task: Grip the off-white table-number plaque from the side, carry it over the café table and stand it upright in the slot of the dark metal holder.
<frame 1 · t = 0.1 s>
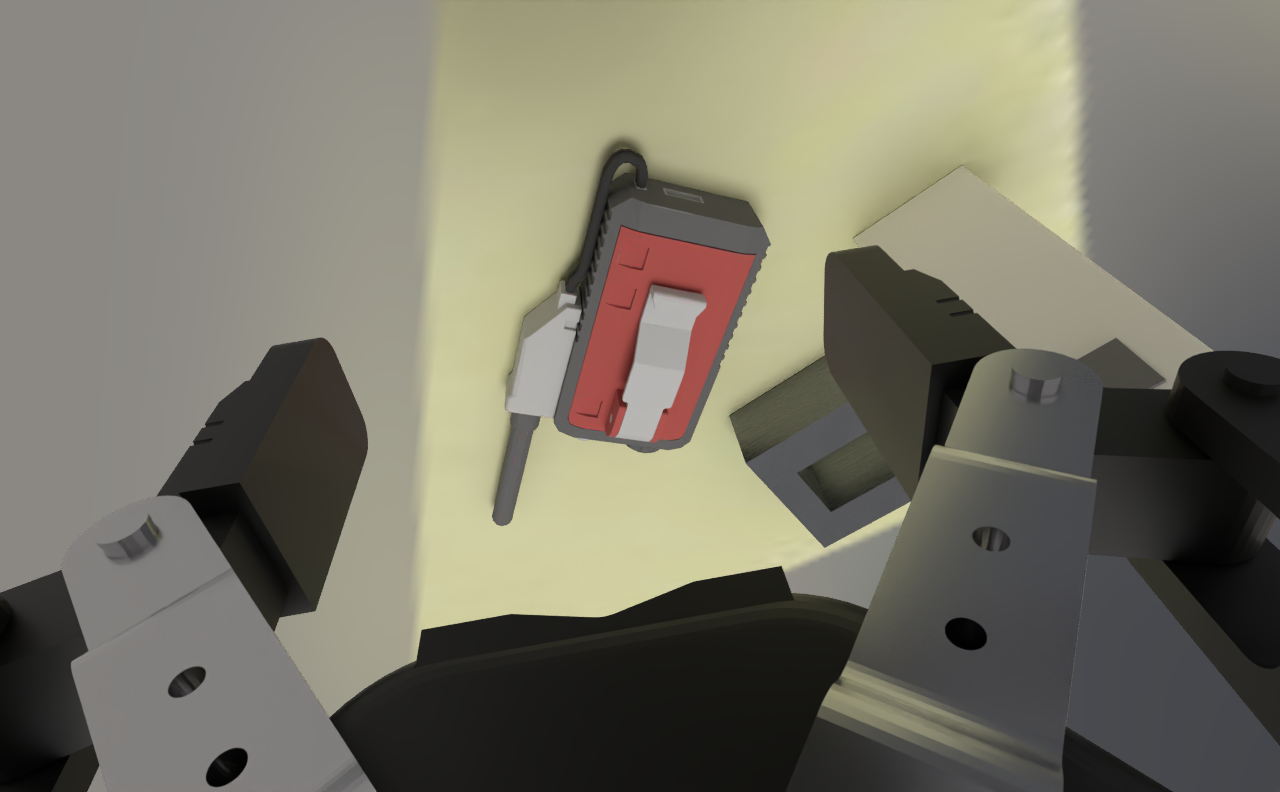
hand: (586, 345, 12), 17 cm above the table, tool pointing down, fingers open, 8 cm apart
plaque: (915, 220, 30), on the table
holder: (852, 410, 36), on the table
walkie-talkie: (607, 357, 34), on the table
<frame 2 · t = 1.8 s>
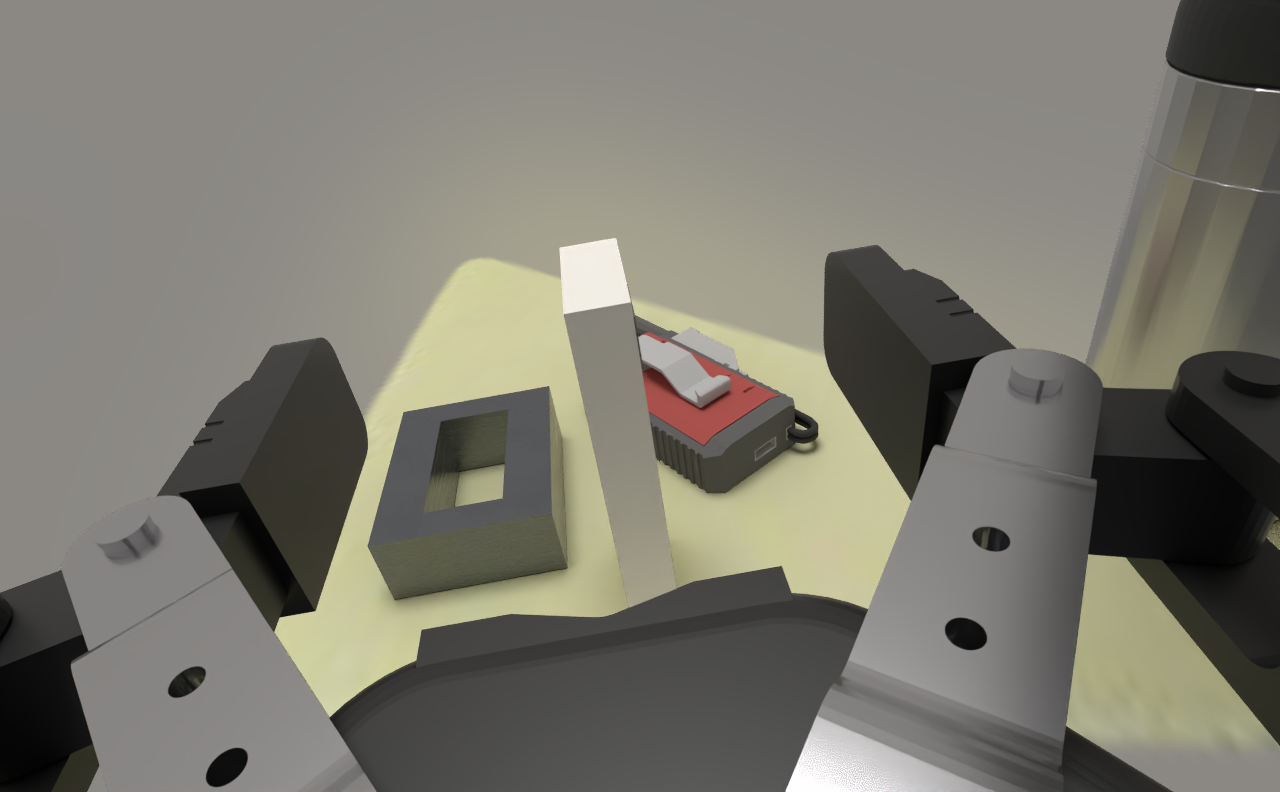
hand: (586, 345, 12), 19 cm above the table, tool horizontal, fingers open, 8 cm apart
plaque: (650, 582, 32), on the table
holder: (487, 508, 37), on the table
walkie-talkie: (665, 401, 44), on the table
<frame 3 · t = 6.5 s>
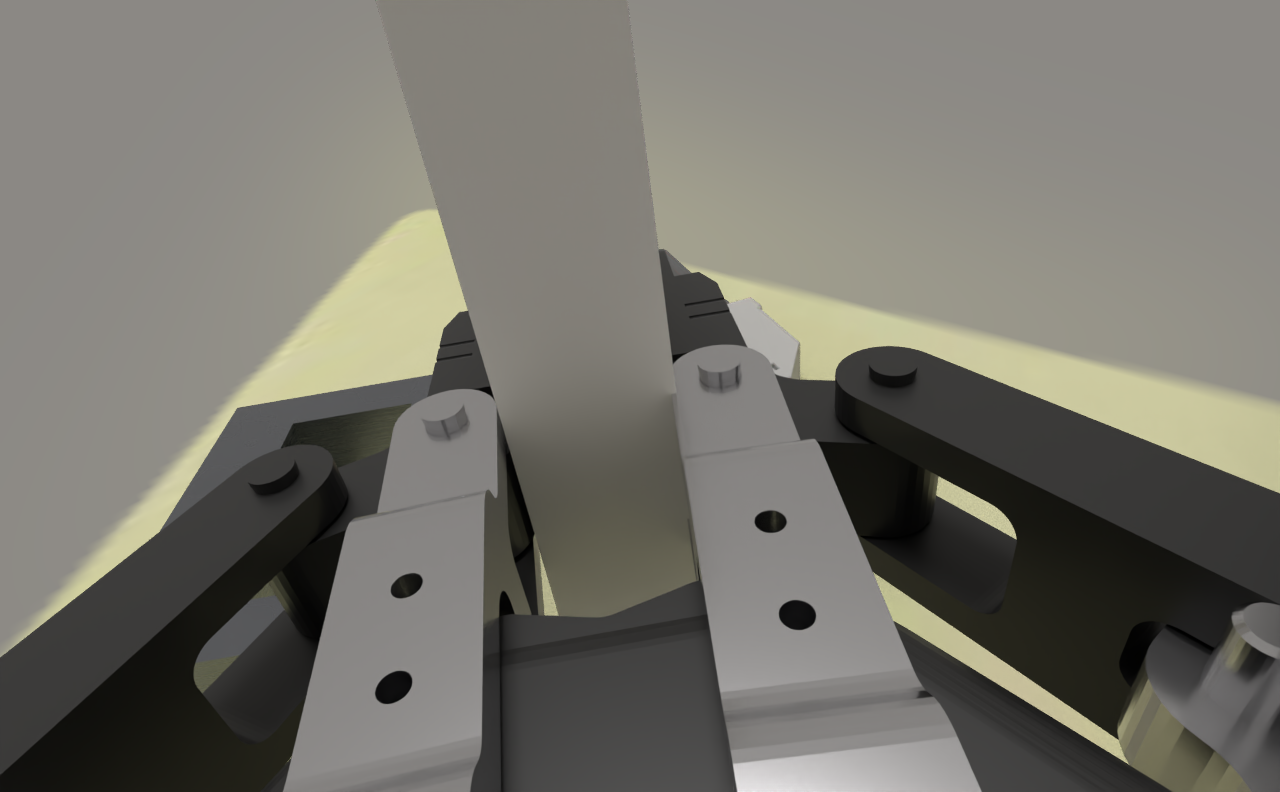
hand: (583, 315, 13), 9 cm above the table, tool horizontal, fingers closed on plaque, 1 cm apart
plaque: (662, 721, 16), on the table, touching gripper
holder: (368, 580, 21), on the table
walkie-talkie: (675, 407, 27), on the table
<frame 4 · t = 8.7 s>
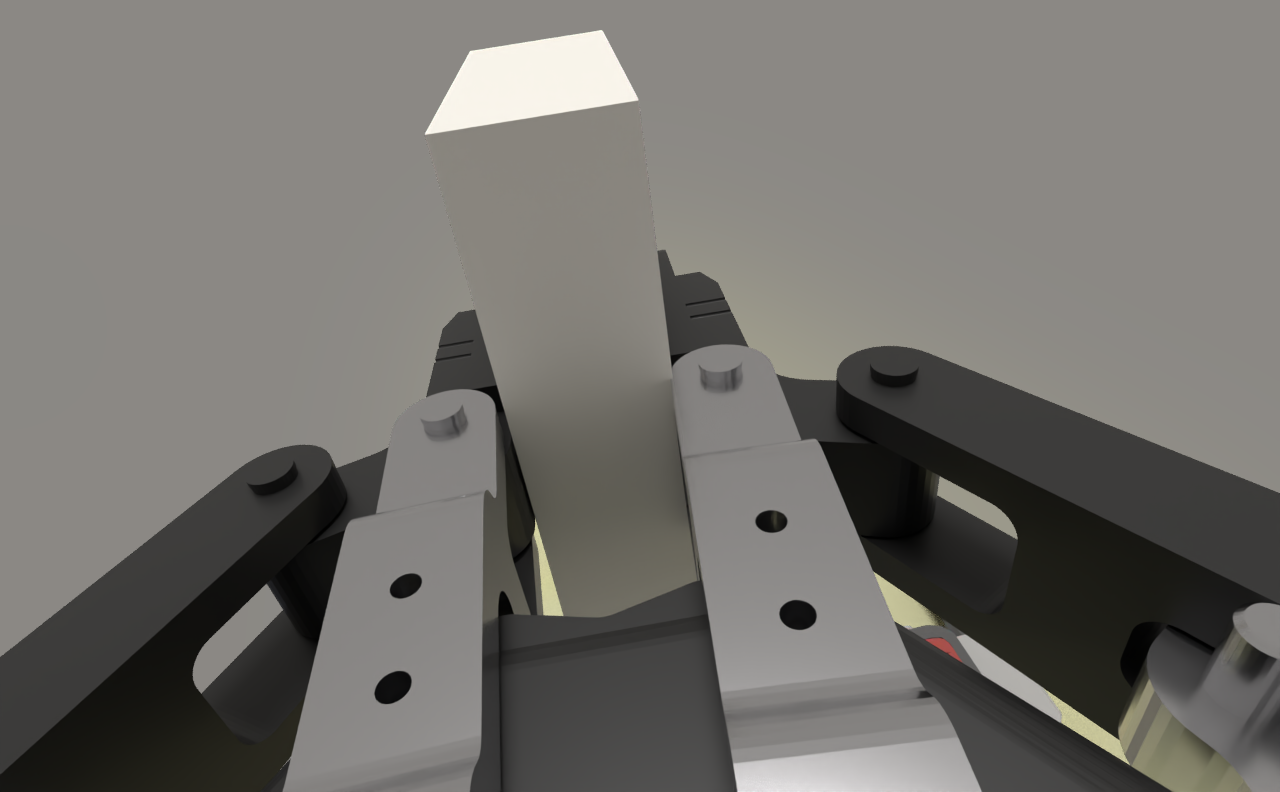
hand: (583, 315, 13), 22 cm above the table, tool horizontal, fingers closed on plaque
plaque: (666, 745, 17), point 11 cm above the table, touching gripper
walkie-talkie: (920, 732, 28), on the table
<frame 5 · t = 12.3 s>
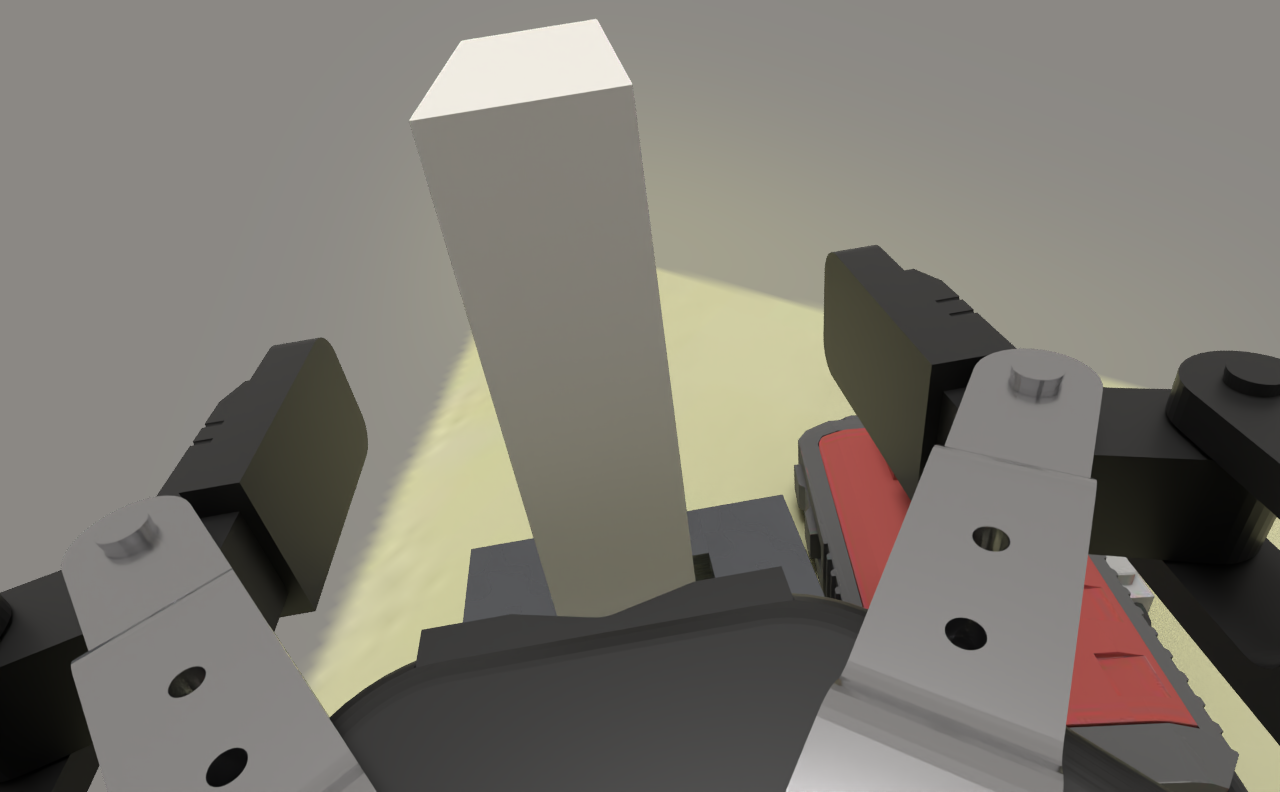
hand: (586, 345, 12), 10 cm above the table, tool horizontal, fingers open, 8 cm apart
plaque: (665, 750, 17), resting in holder
holder: (671, 790, 16), on the table
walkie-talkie: (950, 543, 22), on the table
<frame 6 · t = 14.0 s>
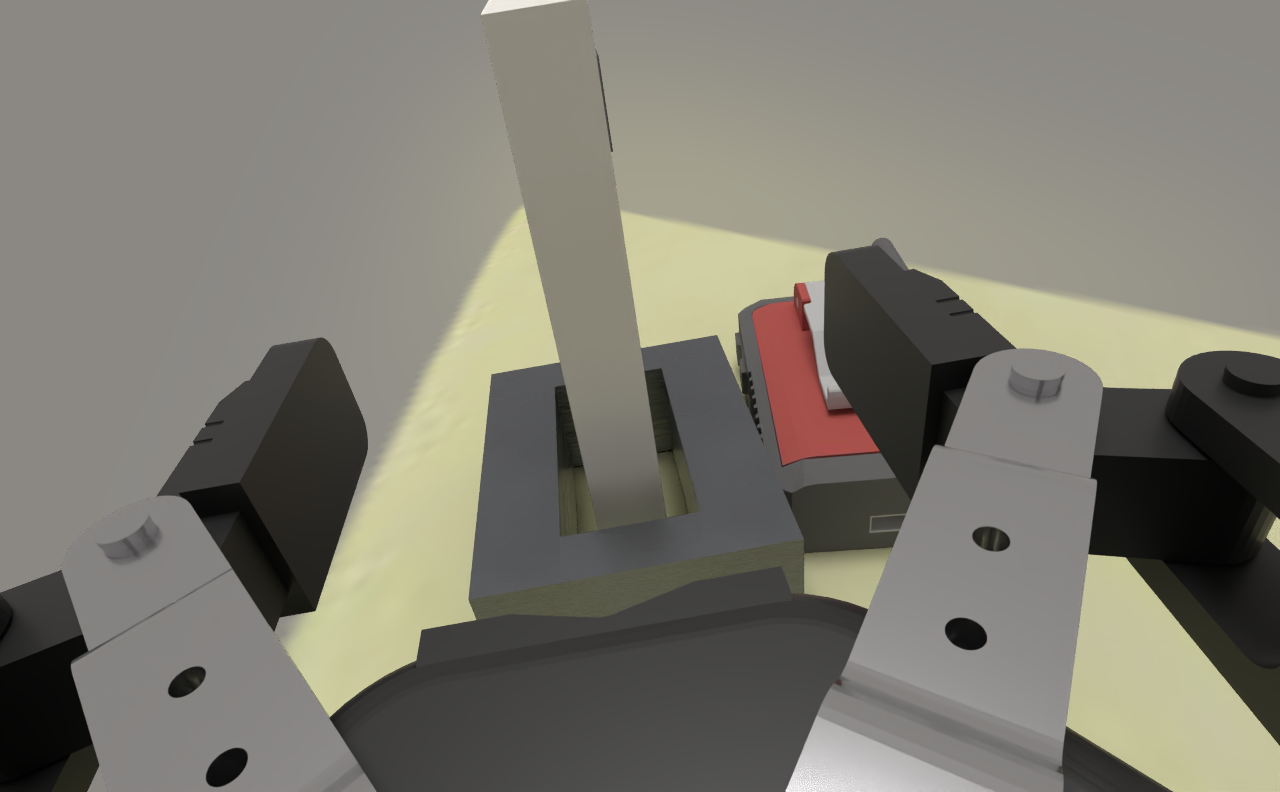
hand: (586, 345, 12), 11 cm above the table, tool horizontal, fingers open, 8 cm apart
plaque: (630, 506, 24), resting in holder
holder: (633, 526, 23), on the table
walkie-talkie: (852, 390, 28), on the table
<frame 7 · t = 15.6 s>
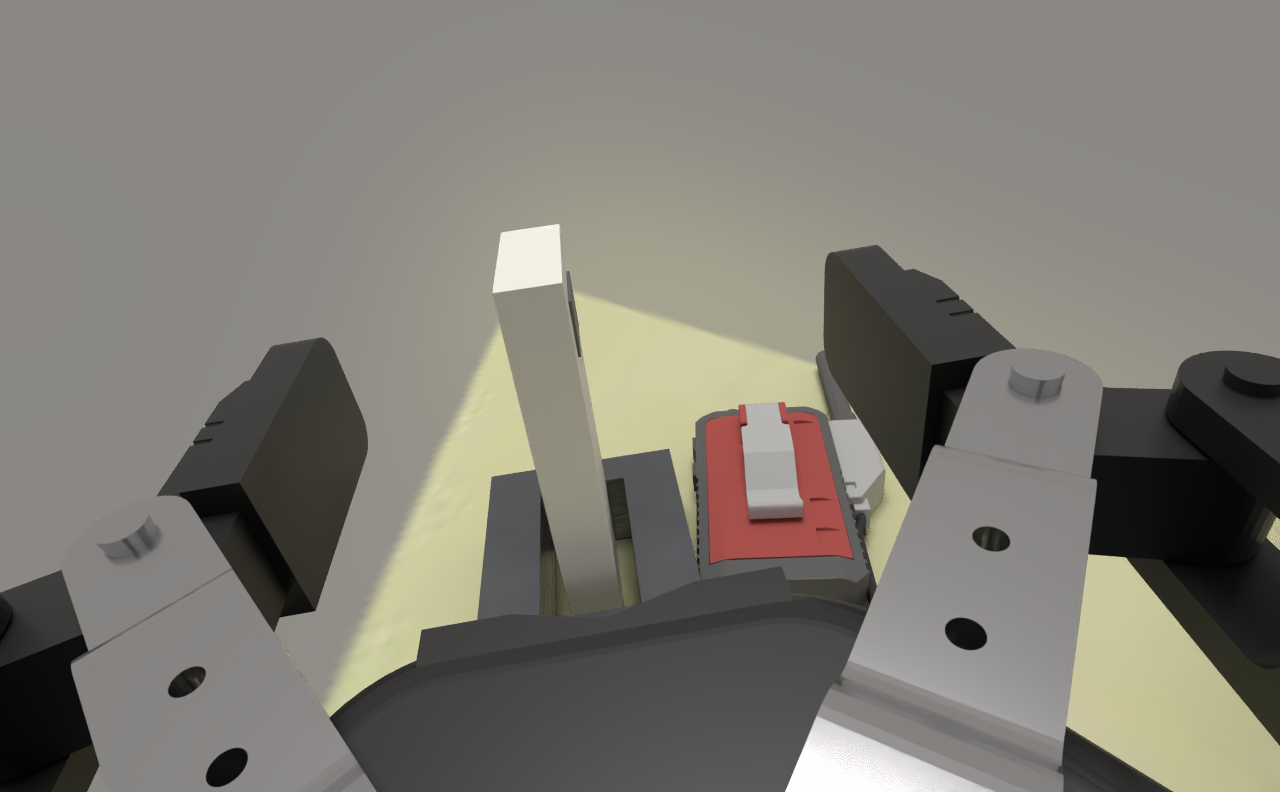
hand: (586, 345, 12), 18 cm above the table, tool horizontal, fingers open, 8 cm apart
plaque: (597, 585, 31), resting in holder
holder: (598, 602, 30), on the table
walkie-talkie: (785, 488, 35), on the table
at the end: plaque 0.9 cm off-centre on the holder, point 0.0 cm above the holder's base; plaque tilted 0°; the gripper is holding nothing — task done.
